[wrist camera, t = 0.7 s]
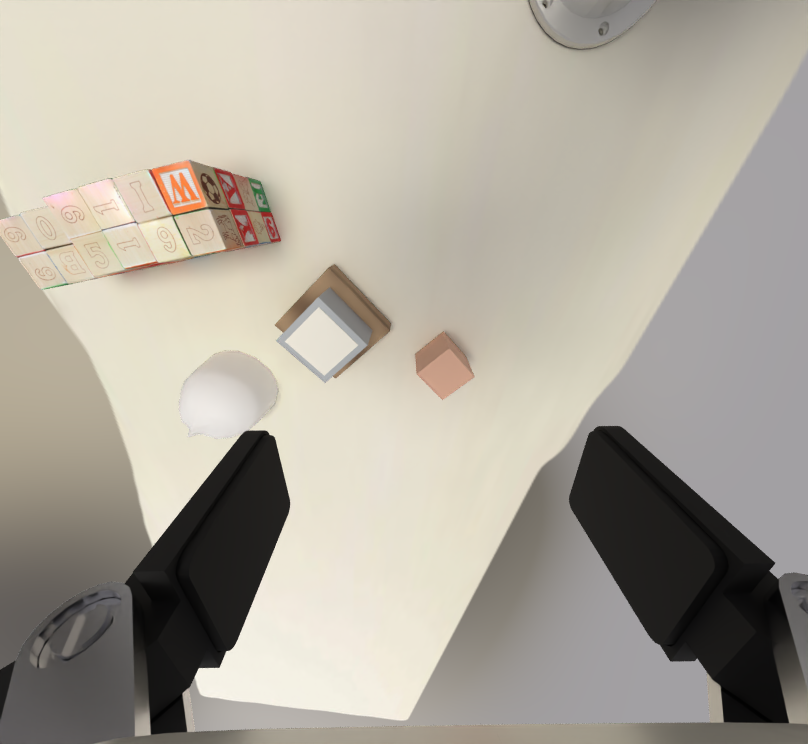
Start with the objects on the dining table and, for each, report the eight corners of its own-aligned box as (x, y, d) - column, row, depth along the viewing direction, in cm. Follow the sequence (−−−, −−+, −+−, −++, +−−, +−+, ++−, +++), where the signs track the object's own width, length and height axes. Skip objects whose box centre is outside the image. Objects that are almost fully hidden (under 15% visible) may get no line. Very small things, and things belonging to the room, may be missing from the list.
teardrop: (191, 390, 45) (123, 444, 34) (218, 334, 41) (151, 376, 30) (259, 426, 48) (216, 486, 37) (291, 378, 43) (253, 430, 33)
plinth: (334, 264, 36) (328, 267, 33) (391, 323, 39) (389, 331, 37) (283, 317, 39) (274, 325, 37) (339, 368, 43) (335, 378, 40)
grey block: (329, 287, 34) (317, 297, 30) (372, 330, 37) (367, 345, 32) (292, 325, 37) (275, 340, 32) (334, 364, 39) (324, 383, 34)
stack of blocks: (120, 274, 37) (0, 297, 26) (87, 219, 34) (-63, 218, 23) (282, 241, 35) (226, 250, 24) (261, 179, 32) (187, 158, 21)
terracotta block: (443, 331, 40) (449, 348, 35) (465, 356, 42) (474, 376, 36) (415, 353, 41) (416, 373, 36) (438, 377, 43) (442, 399, 38)
